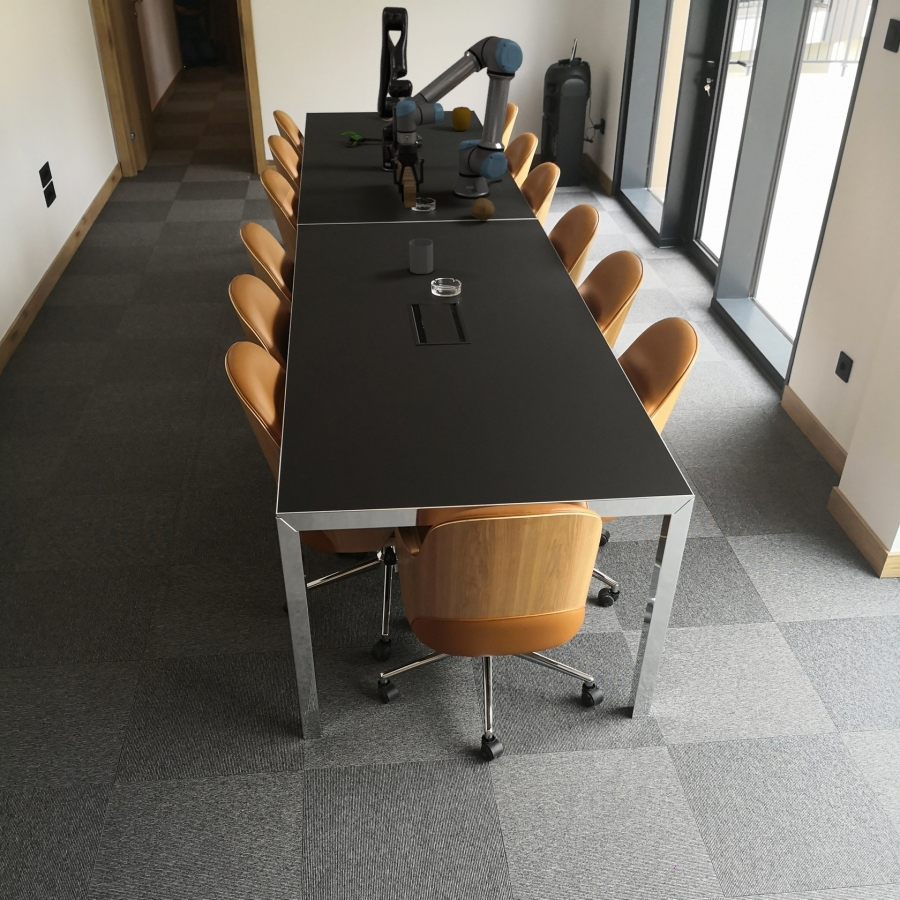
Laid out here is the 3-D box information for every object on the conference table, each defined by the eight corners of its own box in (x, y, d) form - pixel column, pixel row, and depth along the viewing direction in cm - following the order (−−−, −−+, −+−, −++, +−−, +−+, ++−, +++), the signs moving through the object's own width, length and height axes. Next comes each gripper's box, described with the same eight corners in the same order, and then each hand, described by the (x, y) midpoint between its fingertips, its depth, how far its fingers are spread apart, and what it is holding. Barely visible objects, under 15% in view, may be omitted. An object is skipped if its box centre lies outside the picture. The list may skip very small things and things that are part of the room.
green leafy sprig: (396, 128, 464) (339, 126, 462) (395, 143, 457) (338, 141, 454) (395, 137, 469) (340, 135, 466) (395, 153, 462) (339, 151, 459)
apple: (471, 132, 486) (471, 108, 479) (451, 132, 486) (451, 108, 479) (470, 128, 495) (471, 104, 488) (452, 128, 495) (452, 104, 488)
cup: (409, 265, 311) (408, 238, 306) (432, 265, 312) (431, 238, 307) (410, 274, 304) (409, 246, 299) (433, 273, 305) (433, 246, 299)
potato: (492, 213, 362) (492, 194, 358) (496, 224, 351) (496, 204, 346) (468, 214, 362) (469, 194, 358) (472, 224, 350) (472, 205, 346)
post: (396, 173, 395) (395, 153, 391) (406, 173, 396) (406, 153, 391) (405, 207, 352) (404, 186, 347) (416, 207, 353) (415, 185, 348)
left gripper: (385, 131, 374) (387, 171, 383) (418, 130, 375) (419, 170, 385) (384, 127, 380) (386, 166, 390) (417, 126, 382) (417, 165, 391)
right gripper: (385, 145, 342) (388, 204, 354) (430, 144, 343) (431, 202, 356) (384, 141, 348) (387, 199, 361) (428, 139, 349) (429, 197, 362)
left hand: (402, 168), depth 387 cm, fingers closed on post, 4 cm apart
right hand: (409, 200), depth 358 cm, fingers closed on post, 5 cm apart
